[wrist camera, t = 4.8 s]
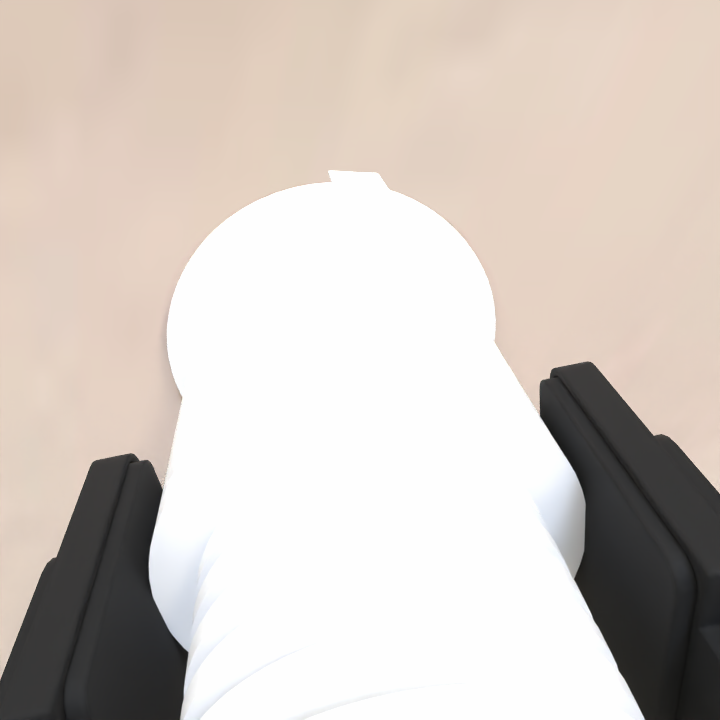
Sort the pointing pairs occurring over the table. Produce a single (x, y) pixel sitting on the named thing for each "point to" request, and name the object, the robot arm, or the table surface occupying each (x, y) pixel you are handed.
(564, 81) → the table surface
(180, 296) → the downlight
